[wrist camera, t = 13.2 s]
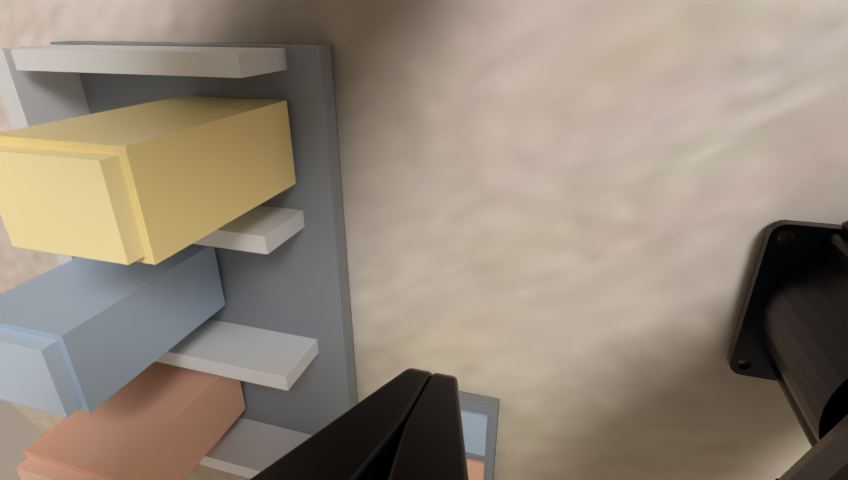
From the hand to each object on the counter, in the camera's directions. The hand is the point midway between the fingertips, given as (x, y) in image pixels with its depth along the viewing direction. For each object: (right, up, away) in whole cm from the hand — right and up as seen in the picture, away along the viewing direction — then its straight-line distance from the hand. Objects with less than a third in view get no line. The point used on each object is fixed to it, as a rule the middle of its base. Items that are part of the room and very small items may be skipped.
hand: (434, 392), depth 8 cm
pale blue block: (-13, +1, +17) cm, 22 cm away
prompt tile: (+2, -8, +18) cm, 20 cm away
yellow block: (-8, +7, +13) cm, 17 cm away
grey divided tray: (-10, +1, +18) cm, 21 cm away
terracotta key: (-13, -5, +20) cm, 24 cm away
